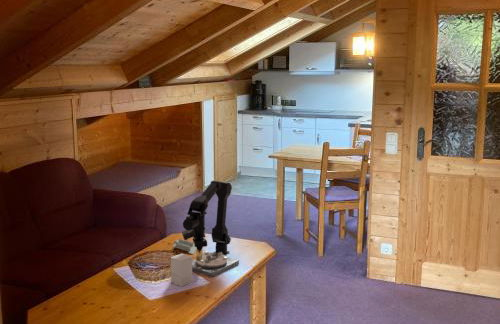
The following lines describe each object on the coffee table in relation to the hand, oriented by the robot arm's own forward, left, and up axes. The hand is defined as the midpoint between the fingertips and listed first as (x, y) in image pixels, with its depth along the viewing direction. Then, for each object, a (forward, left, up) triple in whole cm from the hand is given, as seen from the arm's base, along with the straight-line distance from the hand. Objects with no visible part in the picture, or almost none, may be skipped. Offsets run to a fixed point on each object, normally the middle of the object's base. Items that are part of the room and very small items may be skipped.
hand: (198, 253), depth 272 cm
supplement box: (+21, +7, -7) cm, 23 cm away
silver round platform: (-3, +5, -4) cm, 8 cm away
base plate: (-3, +5, -7) cm, 9 cm away
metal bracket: (-15, -22, -7) cm, 28 cm away
